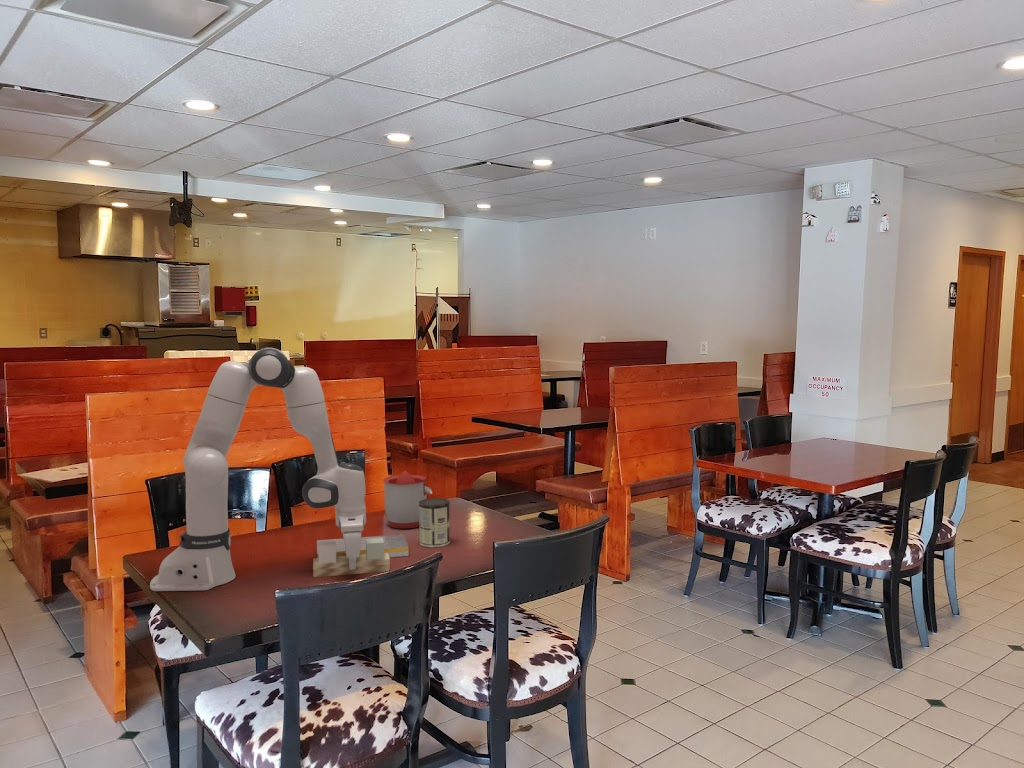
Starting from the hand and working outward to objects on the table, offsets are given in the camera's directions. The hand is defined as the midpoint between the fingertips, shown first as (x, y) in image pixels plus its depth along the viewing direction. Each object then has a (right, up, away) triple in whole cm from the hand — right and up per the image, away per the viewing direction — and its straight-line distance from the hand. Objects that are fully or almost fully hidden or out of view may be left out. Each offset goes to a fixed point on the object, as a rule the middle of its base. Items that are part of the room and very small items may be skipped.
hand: (351, 563), depth 227 cm
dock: (0, -1, +17) cm, 17 cm away
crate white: (-7, +1, -2) cm, 7 cm away
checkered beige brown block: (0, -2, 0) cm, 2 cm away
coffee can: (+22, 0, +28) cm, 36 cm away
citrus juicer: (+10, +2, +50) cm, 51 cm away
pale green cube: (+7, +2, +1) cm, 7 cm away
